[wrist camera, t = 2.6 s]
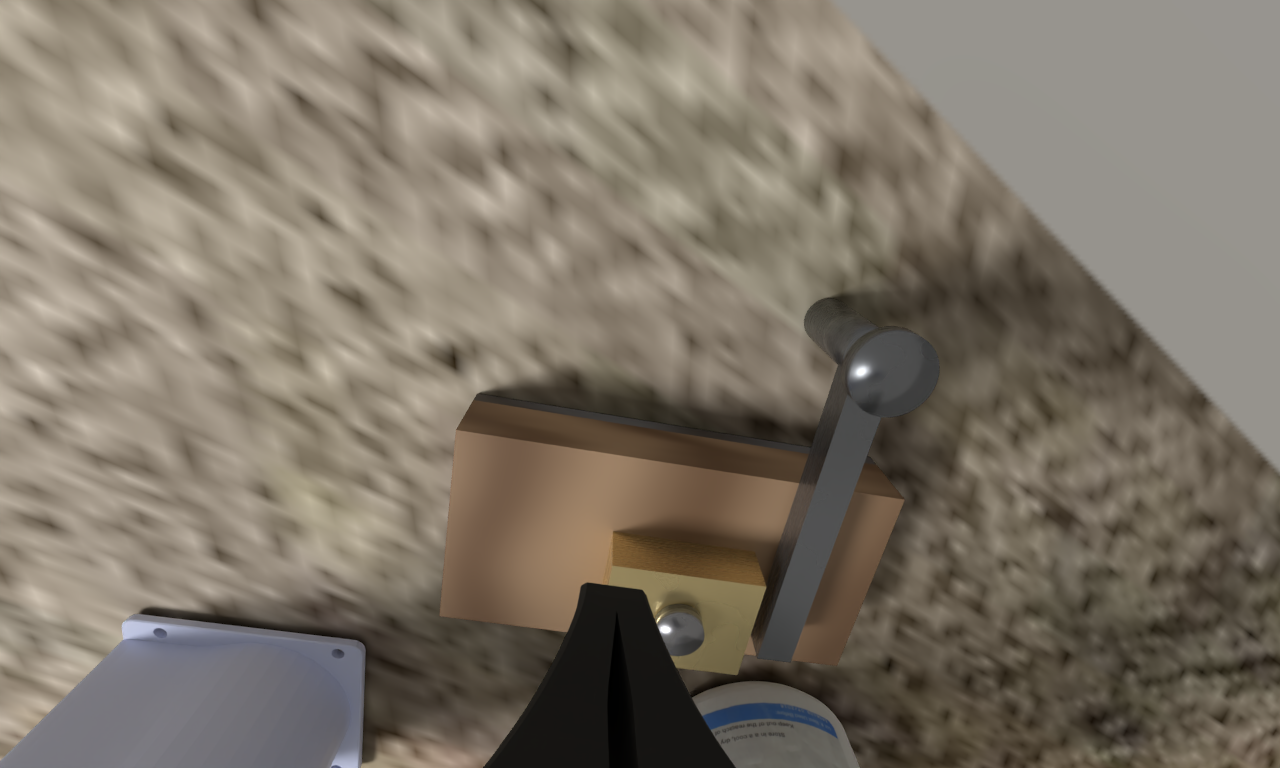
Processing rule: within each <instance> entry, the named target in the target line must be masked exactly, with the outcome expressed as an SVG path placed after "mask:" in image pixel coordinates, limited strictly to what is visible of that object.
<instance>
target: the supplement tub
mask: <svg viewBox="0 0 1280 768" xmlns="http://www.w3.org/2000/svg"><path fill="white" fill-rule="evenodd" d="M692 699H693V701H694V703H695V705H696V706H697V708H698V710H699V712H700V713H701V715H702V717H703V718H704V720H705V722H706V723H707V725H708V727H709V728H710V730H711V731H712V733H713V735H714V736H715V738H716V739H717V741H718V742H719V744H720V745H721V747H722V748H723V750H724V751H725V753H726V754H727V756H728V757H729V758H730V760H731V761H732V763H733V764H734V765H735V767H736V768H860V767H859V764H858V762H857V759H856V757H855V754H854V752H853V749H852V747H851V745H850V743H849V740H848V738H847V735H846V733H845V730H844V728H843V726H842V724H841V723H840V721H839V720H838V719H837V717H836V716H835V715H834V713H833V712H832V711H831V710H830V709H829V708H828V707H827V706H826V705H825V704H823V703H822V702H820V701H819V700H817V699H816V698H814V697H812V696H811V695H809V694H807V693H805V692H802V691H800V690H798V689H795V688H792V687H790V686H786V685H783V684H779V683H773V682H765V681H744V682H737V683H731V684H726V685H722V686H719V687H715V688H712V689H709V690H706V691H704V692H702V693H700V694H698V695H696V696H694V697H692Z"/></svg>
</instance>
